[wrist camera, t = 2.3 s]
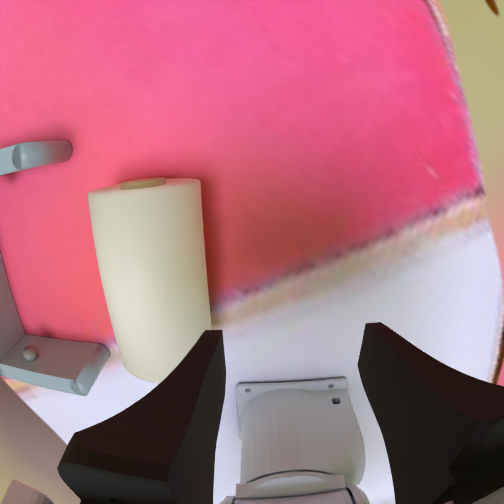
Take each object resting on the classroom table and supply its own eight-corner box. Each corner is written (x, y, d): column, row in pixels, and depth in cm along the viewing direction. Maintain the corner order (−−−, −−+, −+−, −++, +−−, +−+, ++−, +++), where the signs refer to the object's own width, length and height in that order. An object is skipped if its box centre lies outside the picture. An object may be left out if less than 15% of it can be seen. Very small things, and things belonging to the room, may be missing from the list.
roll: (100, 181, 19) (72, 195, 13) (195, 171, 20) (205, 180, 14) (127, 334, 22) (119, 389, 17) (208, 325, 24) (221, 379, 18)
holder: (71, 138, 18) (29, 140, 13) (111, 359, 24) (91, 397, 20) (-45, 171, 18) (-81, 181, 14) (-3, 340, 24) (-27, 366, 20)
